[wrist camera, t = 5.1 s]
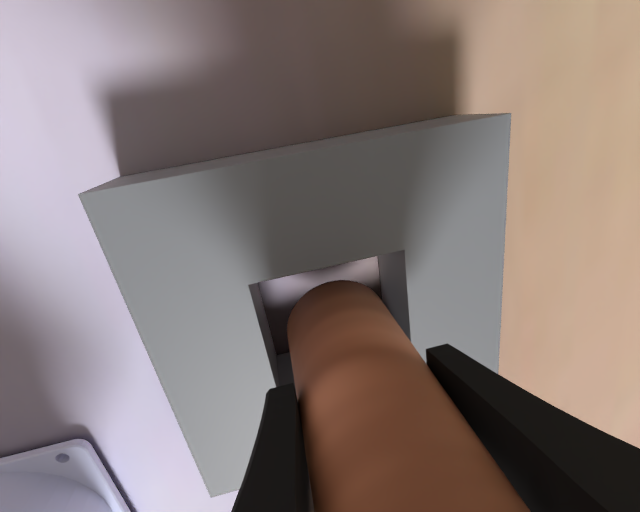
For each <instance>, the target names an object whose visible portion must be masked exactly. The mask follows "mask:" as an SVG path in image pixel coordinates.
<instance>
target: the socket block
mask: <svg viewBox="0 0 640 512" xmlns="http://www.w3.org/2000/svg"><path fill="white" fill-rule="evenodd" d="M510 126H511V113H502V114H468V115H452V116H447V117H441V118H436V119H431V120H425V121H420V122H414V123H409V124H404V125H398V126H393V127H387V128H382V129H376V130H371V131H366V132H360V133H355V134H349V135H344V136H338V137H333V138H328V139H322V140H317V141H311V142H306V143H301V144H295V145H290V146H284V147H279V148H273V149H268V150H263V151H257V152H252V153H246V154H241V155H236V156H230V157H225V158H219V159H214V160H208V161H203V162H198V163H192V164H187V165H181V166H176V167H171V168H165V169H160V170H154V171H149V172H143V173H138V174H133V175H127V176H122V177H118V178H116V179H114V180H111V181H109V182H106V183H104V184H102V185H99V186H97V187H94V188H92V189H90V190H87V191H85V192H83V193H80V194H78V195H79V198H80V200H81V202H82V205H83V207H84V209H85V211H86V214H87V216H88V218H89V221H90V223H91V225H92V227H93V230H94V232H95V234H96V237H97V239H98V241H99V243H100V246H101V248H102V250H103V253H104V255H105V257H106V259H107V262H108V264H109V266H110V268H111V271H112V273H113V275H114V278H115V280H116V282H117V284H118V287H119V289H120V291H121V294H122V296H123V298H124V300H125V303H126V305H127V307H128V310H129V312H130V314H131V316H132V319H133V321H134V323H135V326H136V328H137V330H138V332H139V335H140V337H141V339H142V342H143V344H144V346H145V348H146V351H147V353H148V355H149V358H150V360H151V362H152V364H153V367H154V369H155V371H156V374H157V376H158V378H159V380H160V383H161V385H162V387H163V390H164V392H165V394H166V396H167V399H168V401H169V403H170V406H171V408H172V410H173V412H174V415H175V417H176V419H177V422H178V424H179V426H180V428H181V431H182V433H183V435H184V438H185V440H186V442H187V444H188V447H189V449H190V451H191V454H192V456H193V458H194V460H195V463H196V465H197V467H198V470H199V472H200V474H201V476H202V479H203V481H204V483H205V485H206V488H207V490H208V492H209V495H210V497H215V496H219V495H222V494H226V493H229V492H233V491H236V490H239V489H240V487H241V484H242V481H243V478H244V475H245V472H246V469H247V466H248V463H249V460H250V456H251V453H252V450H253V447H254V444H255V440H256V437H257V433H258V429H259V425H260V421H261V417H262V413H263V408H264V403H265V397H266V393H267V392H268V390H269V389H271V388H275V387H279V386H283V385H287V384H291V383H294V388H295V382H294V375H293V369H292V362H291V356H290V352H288V353H284V354H280V355H276V352H275V348H274V344H273V340H272V336H271V332H270V329H269V325H268V321H267V317H266V313H265V309H264V305H263V302H262V298H261V294H260V290H259V286H258V282H263V281H267V280H272V279H276V278H281V277H285V276H290V275H294V274H299V273H303V272H308V271H312V270H316V269H321V268H325V267H330V266H334V265H339V264H343V263H348V262H352V261H357V260H361V259H366V258H370V257H375V256H378V264H379V274H380V283H381V293H382V302H383V303H384V305H385V306H386V308H387V309H388V310H389V312H390V313H391V315H392V316H393V317H394V319H395V320H396V322H397V323H398V325H399V326H400V327H401V329H402V330H403V332H404V333H405V334H406V336H407V337H408V339H409V340H410V341H411V343H412V344H413V346H414V347H415V349H416V350H417V351H418V353H419V354H420V356H421V357H422V358H423V360H424V361H425V363H426V349H428V348H432V347H435V346H439V345H443V344H447V343H448V344H449V345H451V346H453V347H455V348H456V349H458V350H459V351H461V352H463V353H464V354H466V355H468V356H469V357H471V358H472V359H474V360H476V361H477V362H479V363H480V364H482V365H484V366H485V367H487V368H489V369H490V370H492V371H494V372H495V373H497V374H498V368H499V348H500V328H501V307H502V287H503V267H504V247H505V227H506V207H507V187H508V167H509V146H510ZM426 364H427V363H426ZM295 392H296V388H295ZM296 396H297V395H296Z"/></svg>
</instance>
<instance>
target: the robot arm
mask: <svg viewBox="0 0 640 512" xmlns="http://www.w3.org/2000/svg"><path fill="white" fill-rule="evenodd" d="M426 363H427V366H428V367H429V368H430V370H431V371H432V373H433V374H434V375H435V377H436V378H437V380H438V381H439V383H440V384H441V385H442V387H443V388H444V390H445V391H446V392H447V394H448V395H449V397H450V398H451V399H452V401H453V402H454V404H455V405H456V407H457V408H458V409H459V411H460V412H461V414H462V415H463V416H464V418H465V419H466V421H467V422H468V424H469V425H470V426H471V428H472V429H473V431H474V432H475V433H476V435H477V436H478V438H479V439H480V441H481V442H482V443H483V445H484V446H485V448H486V449H487V450H488V452H489V453H490V455H491V456H492V457H493V459H494V460H495V462H496V463H497V465H498V466H499V467H500V469H501V470H502V472H503V473H504V474H505V476H506V477H507V479H508V480H509V482H510V483H511V484H512V486H513V487H514V489H515V490H516V491H517V493H518V494H519V496H520V497H521V499H522V500H523V501H524V503H525V504H526V506H527V507H528V508H529V510H530V511H531V512H640V449H639V448H637V447H635V446H633V445H631V444H628V443H626V442H624V441H622V440H620V439H618V438H615V437H613V436H611V435H609V434H607V433H605V432H603V431H601V430H599V429H597V428H595V427H593V426H591V425H589V424H587V423H585V422H583V421H581V420H579V419H577V418H575V417H573V416H571V415H569V414H568V413H566V412H564V411H562V410H560V409H558V408H556V407H554V406H552V405H551V404H549V403H547V402H545V401H543V400H542V399H540V398H538V397H536V396H534V395H533V394H531V393H529V392H527V391H526V390H524V389H522V388H520V387H519V386H517V385H515V384H514V383H512V382H510V381H508V380H507V379H505V378H503V377H502V376H500V375H498V374H497V373H495V372H494V371H492V370H490V369H489V368H487V367H485V366H484V365H482V364H480V363H479V362H477V361H476V360H474V359H472V358H471V357H469V356H468V355H466V354H464V353H463V352H461V351H459V350H458V349H456V348H455V347H453V346H451V345H449V344H448V343H447V344H443V345H439V346H435V347H432V348H428V349H426ZM63 453H64V454H63ZM0 512H131V511H130V510H129V508H128V506H127V505H126V503H125V501H124V499H123V498H122V496H121V494H120V493H119V491H118V489H117V488H116V486H115V484H114V483H113V481H112V479H111V477H110V476H109V474H108V472H107V471H106V469H105V467H104V466H103V464H102V462H101V461H100V459H99V457H98V455H97V454H96V452H95V450H94V449H93V447H92V445H91V444H90V443H89V442H88V441H86V440H84V439H73V440H69V441H66V442H62V443H58V444H54V445H50V446H46V447H42V448H38V449H34V450H30V451H27V452H23V453H19V454H15V455H11V456H7V457H3V458H0ZM231 512H315V511H314V505H313V498H312V492H311V485H310V479H309V472H308V466H307V460H306V453H305V446H304V437H303V430H302V424H301V417H300V411H299V405H298V400H297V396H296V392H295V388H294V383H291V384H287V385H283V386H279V387H275V388H271V389H269V390H268V392H267V393H266V397H265V403H264V408H263V413H262V417H261V421H260V425H259V429H258V433H257V437H256V440H255V444H254V447H253V450H252V453H251V456H250V460H249V463H248V466H247V469H246V472H245V475H244V478H243V481H242V484H241V487H240V489H239V492H238V495H237V498H236V500H235V503H234V506H233V508H232V511H231Z"/></svg>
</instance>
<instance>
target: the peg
mask: <svg viewBox="0 0 640 512" xmlns="http://www.w3.org/2000/svg"><path fill="white" fill-rule="evenodd" d="M287 336H288V343H289V349H290V356H291V362H292V369H293V375H294V382H295V388H296V395H297V400H298V405H299V411H300V417H301V424H302V430H303V437H304V446H305V453H306V460H307V466H308V472H309V479H310V485H311V492H312V498H313V505H314V511H315V512H531V511H530V510H529V508H528V507H527V506H526V504H525V503H524V501H523V500H522V499H521V497H520V496H519V494H518V493H517V491H516V490H515V489H514V487H513V486H512V484H511V483H510V482H509V480H508V479H507V477H506V476H505V474H504V473H503V472H502V470H501V469H500V467H499V466H498V465H497V463H496V462H495V460H494V459H493V457H492V456H491V455H490V453H489V452H488V450H487V449H486V448H485V446H484V445H483V443H482V442H481V441H480V439H479V438H478V436H477V435H476V433H475V432H474V431H473V429H472V428H471V426H470V425H469V424H468V422H467V421H466V419H465V418H464V416H463V415H462V414H461V412H460V411H459V409H458V408H457V407H456V405H455V404H454V402H453V401H452V399H451V398H450V397H449V395H448V394H447V392H446V391H445V390H444V388H443V387H442V385H441V384H440V383H439V381H438V380H437V378H436V377H435V375H434V374H433V373H432V371H431V370H430V368H429V367H428V366H427V364H426V363H425V361H424V360H423V358H422V357H421V356H420V354H419V353H418V351H417V350H416V349H415V347H414V346H413V344H412V343H411V341H410V340H409V339H408V337H407V336H406V334H405V333H404V332H403V330H402V329H401V327H400V326H399V325H398V323H397V322H396V320H395V319H394V317H393V316H392V315H391V313H390V312H389V310H388V309H387V308H386V306H385V305H384V303H383V302H382V300H381V299H380V298H379V296H378V295H377V294H376V293H375V292H374V291H373V290H372V289H370V288H369V287H367V286H365V285H363V284H361V283H358V282H354V281H347V280H339V281H332V282H327V283H324V284H321V285H319V286H317V287H315V288H313V289H312V290H310V291H308V292H307V293H306V294H305V295H303V296H302V297H301V298H300V299H299V301H298V302H297V303H296V304H295V306H294V308H293V309H292V311H291V313H290V316H289V319H288V323H287Z"/></svg>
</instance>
